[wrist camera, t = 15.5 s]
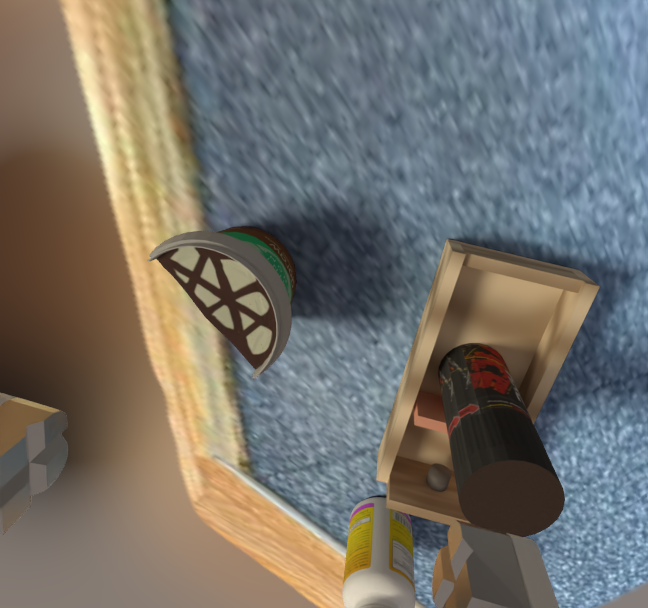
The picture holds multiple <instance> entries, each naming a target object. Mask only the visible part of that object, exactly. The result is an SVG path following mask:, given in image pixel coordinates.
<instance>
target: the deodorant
mask: <svg viewBox="0 0 648 608" xmlns="http://www.w3.org/2000/svg"><path fill="white" fill-rule="evenodd" d="M438 378H439V384H440V390H441V396H442V402H443V408H444V414H445V420H446V426H447V432H448V438H449V444H450V450H451V456H452V462H453V468H454V474H455V480H456V486H457V492H458V498H459V503H460V507H461V511H462V513H463V514H464V516H465V517H466V519H467V520H468V521H469V522H470V523H471V524H474V525H478V526H482V527H485V528H489V529H493V530H497V531H500V532H504V533H509V534H512V535H516V536H520V537H526V536H529V535H533V534H536V533H539V532H541V531H542V530H544V529H546V528H548V527H549V526H550V525H551V524H553V523H554V522H555V521H556V520H557V519H558V517H559V515H560V514H561V512H562V510H563V507H564V501H565V497H564V491H563V488H562V485H561V483H560V481H559V479H558V477H557V474H556V472H555V470H554V468H553V466H552V463H551V461H550V459H549V457H548V455H547V453H546V450H545V448H544V446H543V444H542V442H541V439H540V437H539V435H538V433H537V431H536V428H535V426H534V424H533V422H532V420H531V418H530V415H529V413H528V411H527V409H526V407H525V404H524V402H523V400H522V398H521V396H520V393H519V391H518V389H517V387H516V385H515V382H514V380H513V378H512V376H511V374H510V372H509V369H508V367H507V365H506V363H505V361H504V359H503V357H502V356H501V355H500V354H499V353H498V352H497V351H496V350H495V349H493V348H492V347H490V346H488V345H484V344H480V343H468V344H463V345H460V346H457V347H455V348H453V349H452V350H450V351H449V352H448V353H447V354H446V355H445V356H444V357H443V359H442V360H441V362H440V365H439V369H438Z"/></svg>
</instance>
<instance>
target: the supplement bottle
mask: <svg viewBox="0 0 648 608" xmlns="http://www.w3.org/2000/svg"><path fill="white" fill-rule="evenodd" d="M386 499H387V498H383V497H372V498H368V499H365V500H363V501H361V502H360V503H358V504H357V505H356V506H355V508H354V509H353V511H352V513H351V517H350V524H349V534H348V544H347V553H346V563H345V573H344V581H343V602H344V605H345V607H346V608H415V583H414V560H413V539H412V524H411V519H410V516H409V514H407V513H403V512H399V511H396V510H392V509H389V508H386Z"/></svg>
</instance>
